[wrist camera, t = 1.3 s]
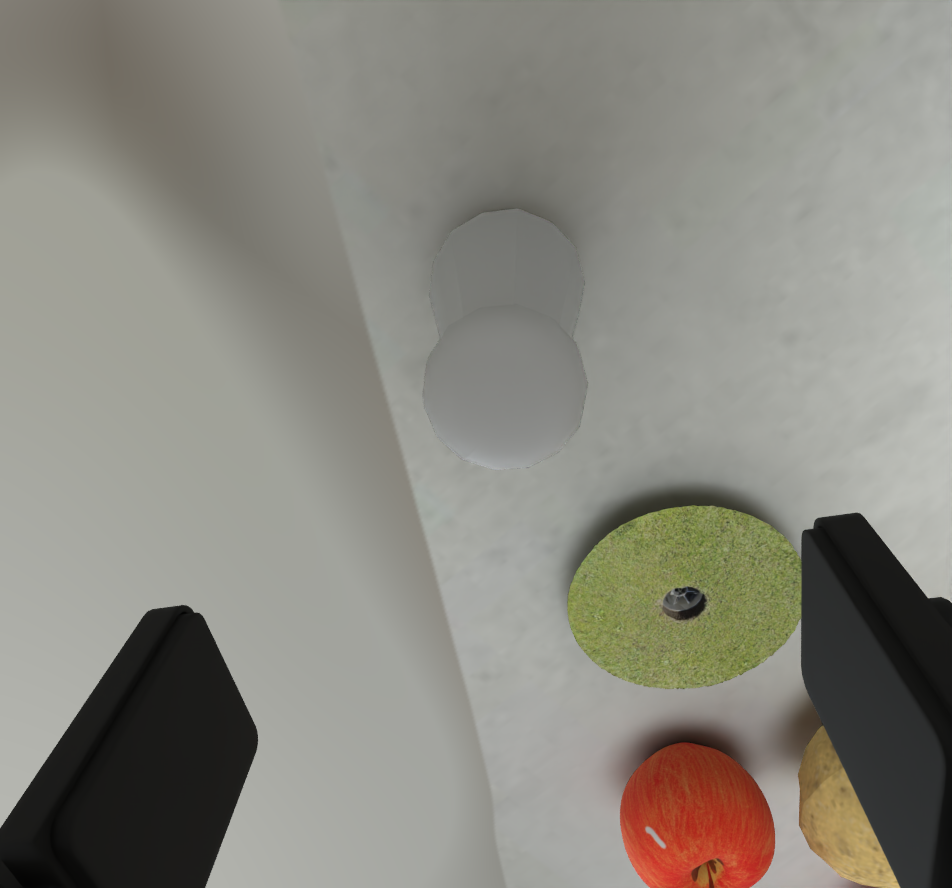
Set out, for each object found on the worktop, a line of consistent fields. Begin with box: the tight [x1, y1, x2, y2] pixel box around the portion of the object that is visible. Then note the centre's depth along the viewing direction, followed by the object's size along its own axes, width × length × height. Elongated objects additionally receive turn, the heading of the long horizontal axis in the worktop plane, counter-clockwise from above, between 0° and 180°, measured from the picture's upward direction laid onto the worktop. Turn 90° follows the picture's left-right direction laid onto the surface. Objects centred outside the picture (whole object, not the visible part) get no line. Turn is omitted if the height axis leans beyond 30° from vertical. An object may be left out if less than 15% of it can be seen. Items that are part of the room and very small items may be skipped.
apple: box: [620, 742, 775, 888], centre depth 39 cm, size 8×8×8 cm
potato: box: [798, 726, 900, 888], centre depth 35 cm, size 10×14×10 cm
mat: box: [568, 505, 801, 689], centre depth 35 cm, size 11×11×2 cm
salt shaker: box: [423, 208, 588, 470], centre depth 24 cm, size 6×6×13 cm
